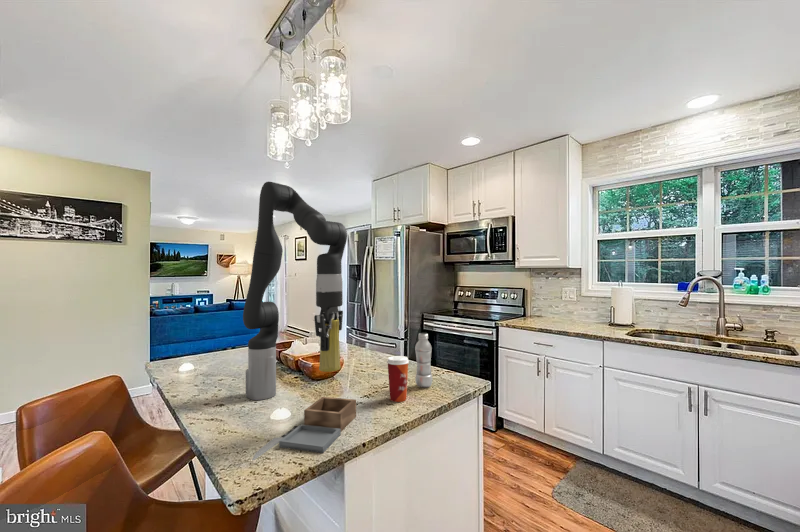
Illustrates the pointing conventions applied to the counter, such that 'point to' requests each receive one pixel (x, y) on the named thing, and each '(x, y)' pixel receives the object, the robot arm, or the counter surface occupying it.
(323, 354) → the vase
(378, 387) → the counter surface
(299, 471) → the counter surface
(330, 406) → the brown wooden box
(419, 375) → the plastic bottle
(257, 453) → the chef's knife
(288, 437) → the tray
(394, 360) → the paper cup
